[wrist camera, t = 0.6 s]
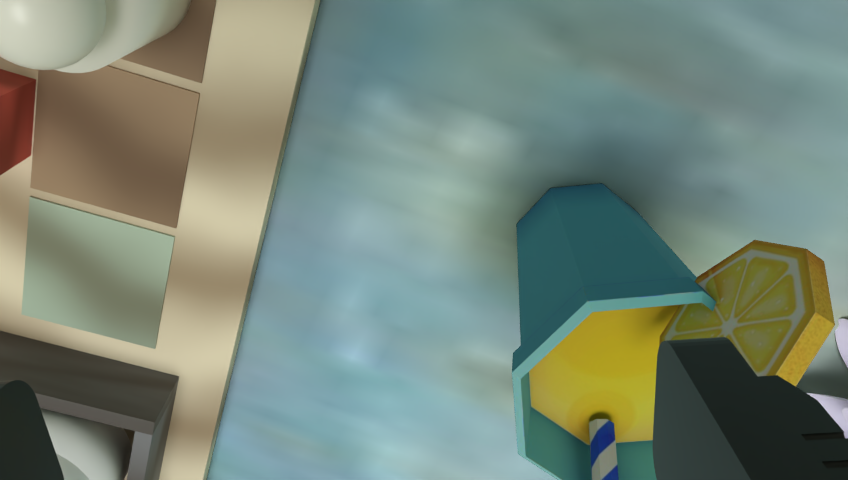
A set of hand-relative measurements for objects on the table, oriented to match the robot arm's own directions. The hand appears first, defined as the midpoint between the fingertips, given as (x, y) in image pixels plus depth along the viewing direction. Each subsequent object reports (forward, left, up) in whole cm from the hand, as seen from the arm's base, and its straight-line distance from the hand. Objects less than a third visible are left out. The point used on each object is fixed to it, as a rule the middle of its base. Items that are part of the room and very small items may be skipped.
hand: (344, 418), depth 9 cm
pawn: (-1, -10, -18) cm, 20 cm away
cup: (+5, +9, -20) cm, 22 cm away
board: (+9, -10, -19) cm, 24 cm away
